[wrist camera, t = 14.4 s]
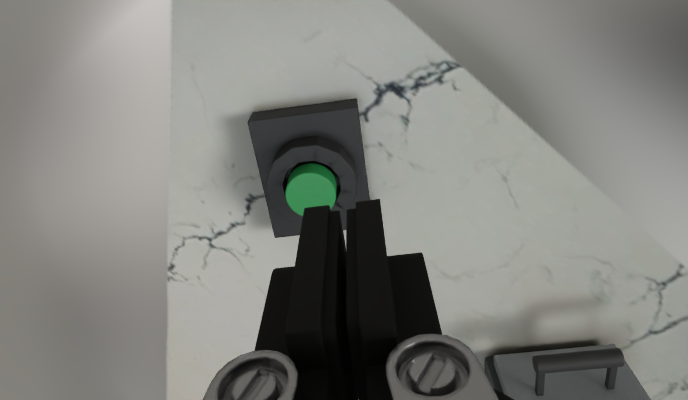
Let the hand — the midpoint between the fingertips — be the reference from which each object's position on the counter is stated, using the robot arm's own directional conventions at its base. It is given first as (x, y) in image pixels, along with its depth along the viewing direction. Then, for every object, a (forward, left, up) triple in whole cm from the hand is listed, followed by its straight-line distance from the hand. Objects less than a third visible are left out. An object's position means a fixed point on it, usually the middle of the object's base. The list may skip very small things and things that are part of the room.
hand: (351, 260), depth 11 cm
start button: (+8, +6, -23) cm, 26 cm away
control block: (+8, +6, -27) cm, 29 cm away
